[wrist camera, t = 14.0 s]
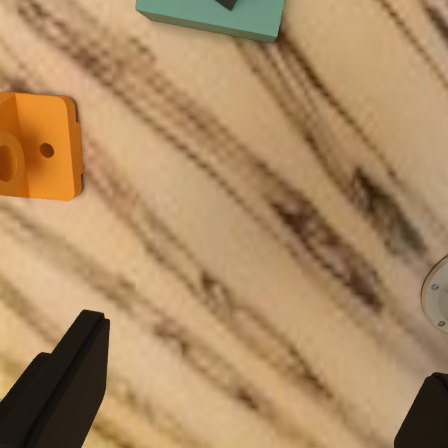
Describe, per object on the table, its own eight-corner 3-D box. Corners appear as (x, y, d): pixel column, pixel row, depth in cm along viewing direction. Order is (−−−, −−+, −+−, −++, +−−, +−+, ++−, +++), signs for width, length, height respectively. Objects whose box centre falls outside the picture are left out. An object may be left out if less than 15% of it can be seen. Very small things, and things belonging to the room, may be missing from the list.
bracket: (85, 194, 41) (26, 235, 30) (24, 189, 41) (-58, 228, 30) (77, 96, 37) (5, 101, 26) (10, 91, 37) (-91, 94, 26)
